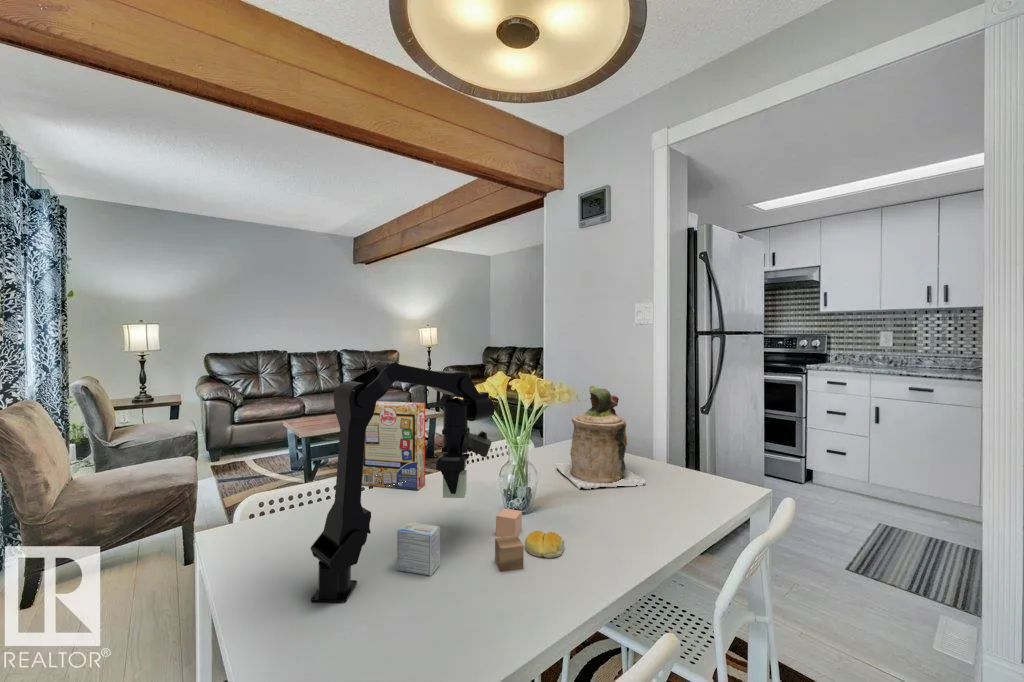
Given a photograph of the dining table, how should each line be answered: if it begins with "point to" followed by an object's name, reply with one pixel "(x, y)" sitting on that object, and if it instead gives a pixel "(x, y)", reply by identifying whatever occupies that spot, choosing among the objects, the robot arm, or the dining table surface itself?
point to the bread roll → (544, 544)
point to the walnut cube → (509, 553)
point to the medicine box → (418, 548)
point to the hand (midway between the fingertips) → (454, 489)
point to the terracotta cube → (508, 523)
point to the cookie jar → (598, 445)
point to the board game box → (395, 446)
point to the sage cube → (460, 487)
